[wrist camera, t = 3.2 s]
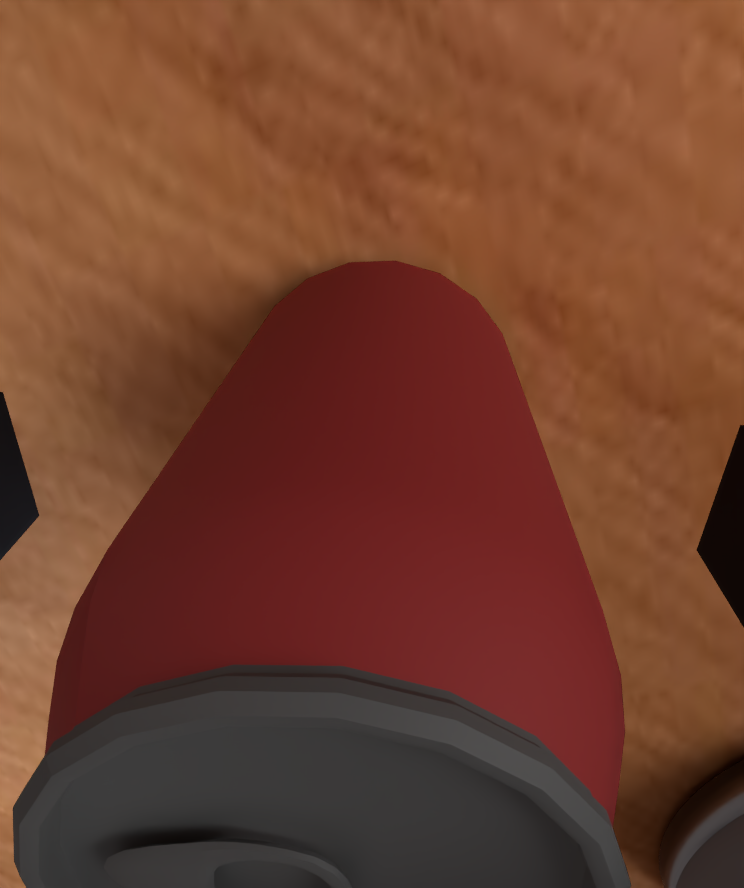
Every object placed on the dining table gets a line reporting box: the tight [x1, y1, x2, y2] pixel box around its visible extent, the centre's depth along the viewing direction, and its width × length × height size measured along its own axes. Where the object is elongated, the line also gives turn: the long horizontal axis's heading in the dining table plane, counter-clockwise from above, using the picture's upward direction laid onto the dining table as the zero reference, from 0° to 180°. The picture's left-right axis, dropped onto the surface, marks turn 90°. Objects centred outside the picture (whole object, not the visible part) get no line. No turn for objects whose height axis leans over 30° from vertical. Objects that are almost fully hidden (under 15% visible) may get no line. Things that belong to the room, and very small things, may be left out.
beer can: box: [13, 261, 631, 888], centre depth 11 cm, size 7×7×12 cm
